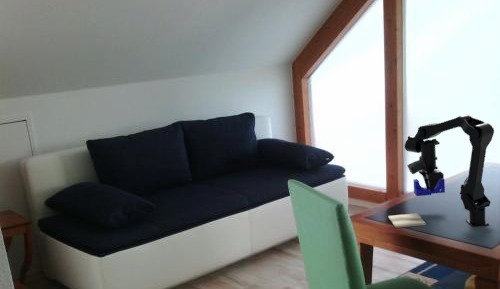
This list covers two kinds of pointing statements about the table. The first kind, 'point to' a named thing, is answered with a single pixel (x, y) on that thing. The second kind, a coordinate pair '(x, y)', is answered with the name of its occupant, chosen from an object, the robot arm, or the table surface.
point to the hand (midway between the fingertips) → (429, 190)
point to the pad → (406, 220)
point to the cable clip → (426, 191)
